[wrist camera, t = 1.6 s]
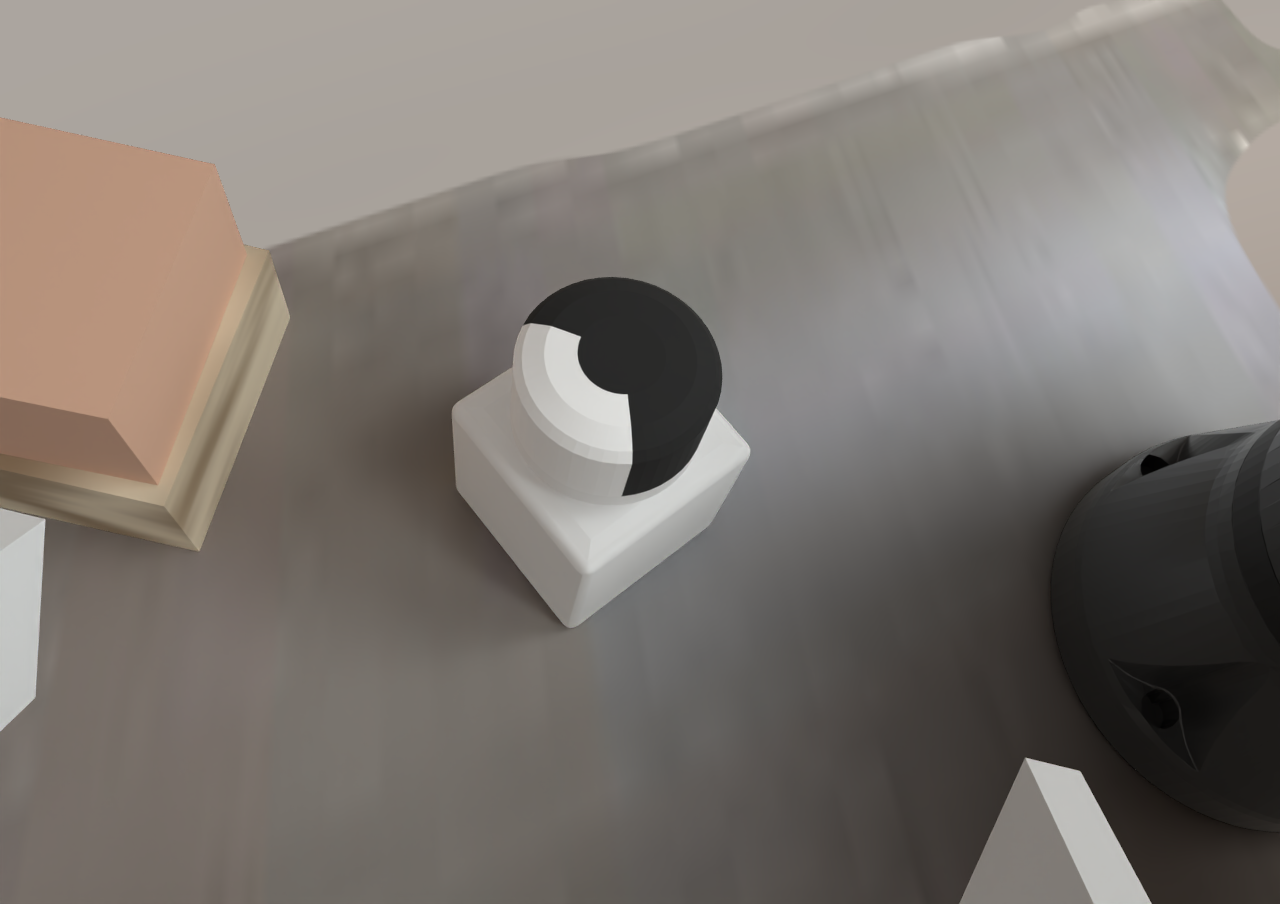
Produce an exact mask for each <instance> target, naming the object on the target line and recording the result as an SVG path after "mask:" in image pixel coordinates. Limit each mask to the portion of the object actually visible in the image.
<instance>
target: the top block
mask: <svg viewBox="0 0 1280 904" xmlns="http://www.w3.org/2000/svg"><path fill="white" fill-rule="evenodd" d="M246 256H247V253H246V250H245V247H244V245H243V242H242V239H241V236H240V234H239V231H238V228H237V225H236V222H235V220H234V217H233V214H232V211H231V208H230V206H229V203H228V200H227V197H226V195H225V192H224V189H223V186H222V183H221V180H220V178H219V175H218V172H217V169H216V166H215V164H211V163H206V162H202V161H197V160H193V159H188V158H183V157H179V156H174V155H170V154H165V153H161V152H156V151H151V150H147V149H142V148H138V147H133V146H128V145H124V144H119V143H114V142H110V141H105V140H101V139H96V138H92V137H87V136H82V135H78V134H73V133H68V132H64V131H60V130H55V129H51V128H46V127H42V126H37V125H32V124H27V123H23V122H19V121H14V120H9V119H5V118H0V454H5V455H10V456H15V457H20V458H25V459H30V460H35V461H40V462H45V463H50V464H55V465H60V466H65V467H70V468H74V469H79V470H84V471H89V472H94V473H99V474H104V475H109V476H114V477H119V478H124V479H129V480H134V481H139V482H144V483H149V484H154V485H158V484H159V482H160V479H161V477H162V474H163V471H164V469H165V466H166V464H167V461H168V458H169V456H170V453H171V451H172V448H173V445H174V443H175V440H176V438H177V435H178V432H179V430H180V427H181V425H182V422H183V419H184V417H185V414H186V412H187V409H188V406H189V404H190V401H191V399H192V396H193V394H194V391H195V388H196V386H197V383H198V381H199V378H200V375H201V373H202V370H203V368H204V365H205V362H206V360H207V357H208V355H209V352H210V349H211V347H212V344H213V342H214V339H215V336H216V334H217V331H218V329H219V326H220V323H221V321H222V318H223V316H224V313H225V310H226V308H227V305H228V303H229V300H230V298H231V295H232V292H233V290H234V287H235V285H236V282H237V279H238V277H239V274H240V272H241V269H242V266H243V264H244V261H245V259H246Z"/></svg>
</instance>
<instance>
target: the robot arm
mask: <svg viewBox="0 0 1280 904" xmlns="http://www.w3.org/2000/svg"><path fill="white" fill-rule="evenodd" d="M44 535H45V519H42V518H38V517H34V516H30V515H26V514H22V513H18V512H14V511H10V510H5V509H1V508H0V731H1V730H2V729H3V728H4V727H5V726H6V725H7V724H8V723H10V722H11V721H12V720H13V719H14V718H15V717H16V716H17V715H18V714H19V713H20V712H21V711H22V710H23V709H24V708H25V707H26V706H27V705H28V704H29V703H30V702H31V701H32V700H33V699H34V698H35V696H36V678H37V660H38V642H39V625H40V607H41V589H42V571H43V553H44ZM1051 604H1052V615H1053V622H1054V629H1055V633H1056V638H1057V642H1058V646H1059V649H1060V653H1061V656H1062V659H1063V662H1064V664H1065V667H1066V670H1067V673H1068V675H1069V677H1070V679H1071V682H1072V684H1073V686H1074V688H1075V690H1076V692H1077V694H1078V696H1079V698H1080V700H1081V702H1082V703H1083V705H1084V707H1085V708H1086V710H1087V712H1088V713H1089V715H1090V717H1091V718H1092V719H1093V721H1094V722H1095V724H1096V725H1097V727H1098V728H1099V730H1100V731H1101V732H1102V733H1103V735H1104V736H1105V737H1106V739H1107V740H1108V741H1109V742H1110V743H1111V745H1112V746H1113V747H1114V748H1115V749H1116V750H1117V751H1118V753H1119V754H1120V755H1121V756H1122V757H1123V758H1124V759H1125V760H1126V761H1127V762H1128V763H1129V764H1130V765H1131V766H1132V767H1133V768H1134V769H1136V770H1137V771H1138V772H1139V773H1140V774H1141V775H1142V776H1143V777H1145V778H1146V779H1147V780H1148V781H1150V782H1151V783H1152V784H1153V785H1155V786H1156V787H1157V788H1159V789H1160V790H1162V791H1163V792H1165V793H1166V794H1167V795H1169V796H1170V797H1172V798H1174V799H1175V800H1177V801H1179V802H1180V803H1182V804H1184V805H1185V806H1187V807H1189V808H1191V809H1193V810H1195V811H1197V812H1199V813H1201V814H1204V815H1206V816H1209V817H1211V818H1213V819H1216V820H1219V821H1222V822H1225V823H1228V824H1231V825H1235V826H1239V827H1242V828H1248V829H1253V830H1259V831H1269V832H1280V420H1277V421H1271V422H1265V423H1259V424H1254V425H1248V426H1242V427H1236V428H1230V429H1225V430H1219V431H1213V432H1207V433H1201V434H1196V435H1190V436H1185V437H1181V438H1177V439H1173V440H1170V441H1167V442H1165V443H1162V444H1159V445H1157V446H1155V447H1152V448H1150V449H1148V450H1146V451H1144V452H1142V453H1140V454H1139V455H1137V456H1135V457H1134V458H1132V459H1131V460H1129V461H1128V462H1126V463H1125V464H1124V465H1122V466H1121V467H1119V468H1118V469H1117V470H1115V471H1114V472H1112V473H1111V474H1109V475H1108V476H1107V477H1105V478H1104V479H1102V480H1101V481H1100V482H1099V483H1098V484H1096V485H1095V486H1094V487H1093V488H1092V489H1091V490H1090V491H1089V492H1088V493H1087V494H1086V495H1085V496H1084V497H1083V499H1082V500H1081V501H1080V502H1079V504H1078V505H1077V506H1076V508H1075V509H1074V511H1073V512H1072V514H1071V516H1070V518H1069V519H1068V521H1067V523H1066V525H1065V527H1064V530H1063V532H1062V534H1061V537H1060V540H1059V543H1058V546H1057V550H1056V554H1055V558H1054V564H1053V570H1052V581H1051ZM959 904H1152V903H1151V902H1150V900H1149V898H1148V896H1147V894H1146V892H1145V890H1144V889H1143V887H1142V885H1141V883H1140V881H1139V879H1138V877H1137V876H1136V874H1135V872H1134V870H1133V868H1132V866H1131V864H1130V863H1129V861H1128V859H1127V857H1126V855H1125V853H1124V851H1123V850H1122V848H1121V846H1120V844H1119V842H1118V840H1117V838H1116V837H1115V835H1114V833H1113V831H1112V829H1111V827H1110V825H1109V824H1108V822H1107V820H1106V818H1105V816H1104V814H1103V812H1102V811H1101V809H1100V807H1099V805H1098V803H1097V801H1096V799H1095V798H1094V796H1093V794H1092V792H1091V790H1090V788H1089V786H1088V785H1087V783H1086V781H1085V779H1084V777H1083V775H1082V773H1081V772H1080V771H1078V770H1074V769H1070V768H1066V767H1062V766H1058V765H1053V764H1049V763H1045V762H1041V761H1037V760H1033V759H1029V758H1025V759H1024V761H1023V763H1022V766H1021V768H1020V770H1019V772H1018V774H1017V777H1016V779H1015V781H1014V783H1013V786H1012V788H1011V790H1010V792H1009V794H1008V797H1007V799H1006V801H1005V803H1004V806H1003V808H1002V810H1001V812H1000V814H999V817H998V819H997V821H996V823H995V825H994V828H993V830H992V832H991V834H990V837H989V839H988V841H987V843H986V845H985V848H984V850H983V852H982V854H981V856H980V859H979V861H978V863H977V865H976V868H975V870H974V872H973V874H972V876H971V879H970V881H969V883H968V885H967V888H966V890H965V892H964V894H963V896H962V899H961V901H960V903H959Z"/></svg>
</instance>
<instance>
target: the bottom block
mask: <svg viewBox="0 0 1280 904" xmlns="http://www.w3.org/2000/svg"><path fill="white" fill-rule="evenodd" d="M243 245H244V244H243ZM244 247H245V250H246V253H247V256H246V259H245V261H244V264H243V266H242V269H241V272H240V274H239V277H238V279H237V282H236V285H235V287H234V290H233V292H232V295H231V298H230V300H229V303H228V305H227V308H226V310H225V313H224V316H223V318H222V321H221V323H220V326H219V329H218V331H217V334H216V336H215V339H214V342H213V344H212V347H211V349H210V352H209V355H208V357H207V360H206V362H205V365H204V368H203V370H202V373H201V375H200V378H199V381H198V383H197V386H196V388H195V391H194V394H193V396H192V399H191V401H190V404H189V406H188V409H187V412H186V414H185V417H184V419H183V422H182V425H181V427H180V430H179V432H178V435H177V438H176V440H175V443H174V445H173V448H172V451H171V453H170V456H169V458H168V461H167V464H166V466H165V469H164V471H163V474H162V477H161V479H160V482H159V484H158V485H154V484H149V483H144V482H139V481H134V480H129V479H124V478H119V477H114V476H109V475H104V474H99V473H94V472H89V471H84V470H79V469H74V468H70V467H65V466H60V465H55V464H50V463H45V462H40V461H35V460H30V459H25V458H20V457H15V456H10V455H5V454H0V507H2V508H7V509H11V510H15V511H20V512H24V513H29V514H33V515H38V516H42V517H47V518H51V519H55V520H60V521H64V522H69V523H73V524H78V525H82V526H87V527H91V528H95V529H100V530H104V531H109V532H113V533H118V534H122V535H127V536H131V537H135V538H140V539H144V540H149V541H153V542H158V543H162V544H167V545H171V546H175V547H180V548H184V549H189V550H193V551H198V552H200V549H201V547H202V544H203V541H204V539H205V536H206V534H207V531H208V529H209V526H210V523H211V521H212V518H213V516H214V513H215V511H216V508H217V505H218V503H219V500H220V498H221V495H222V492H223V490H224V487H225V485H226V482H227V480H228V477H229V474H230V472H231V469H232V467H233V464H234V462H235V459H236V456H237V454H238V451H239V449H240V446H241V443H242V441H243V438H244V436H245V433H246V431H247V428H248V425H249V423H250V420H251V418H252V415H253V413H254V410H255V407H256V405H257V402H258V400H259V397H260V394H261V392H262V389H263V387H264V384H265V382H266V379H267V376H268V374H269V371H270V369H271V366H272V364H273V361H274V358H275V356H276V353H277V351H278V348H279V345H280V343H281V340H282V338H283V335H284V333H285V330H286V327H287V325H288V322H289V320H290V314H289V311H288V308H287V305H286V302H285V299H284V296H283V292H282V289H281V286H280V283H279V280H278V277H277V274H276V271H275V268H274V264H273V261H272V258H271V255H270V252H269V250H265V249H260V248H256V247H251V246H248V245H244Z"/></svg>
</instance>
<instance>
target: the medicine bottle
mask: <svg viewBox="0 0 1280 904" xmlns="http://www.w3.org/2000/svg"><path fill="white" fill-rule="evenodd" d="M721 386H722V366H721V360H720V356H719V352H718V349H717V346H716V344H715V341H714V339H713V337H712V335H711V333H710V332H709V330H708V328H707V327H706V325H705V324H704V323H703V321H702V320H701V319H700V317H699V316H698V315H697V314H696V313H695V312H694V311H693V310H692V309H691V308H690V307H689V306H688V305H686V304H685V303H684V302H683V301H681V300H680V299H679V298H677V297H676V296H674V295H672V294H671V293H669V292H668V291H665V290H663V289H661V288H659V287H657V286H655V285H652V284H649V283H646V282H643V281H638V280H633V279H628V278H618V277H605V278H595V279H588V280H584V281H580V282H577V283H574V284H571V285H569V286H567V287H564V288H562V289H560V290H558V291H557V292H555V293H553V294H552V295H550V296H549V297H547V298H546V299H545V300H544V301H543V302H541V303H540V304H539V305H538V306H537V307H536V308H535V309H534V311H533V312H532V313H531V314H530V315H529V317H528V318H527V320H526V321H525V323H524V324H523V326H522V328H521V331H520V333H519V335H518V337H517V341H516V345H515V348H514V356H513V367H512V368H510V369H508V370H507V371H505V372H504V373H502V374H501V375H499V376H497V377H496V378H494V379H493V380H491V381H490V382H488V383H486V384H485V385H483V386H482V387H480V388H479V389H477V390H476V391H474V392H472V393H471V394H469V395H468V396H466V397H465V398H463V399H461V400H460V401H458V402H457V403H456V404H455V405H454V406H453V409H452V427H453V443H454V460H455V476H456V488H457V490H458V492H459V493H460V494H461V496H462V497H463V498H464V499H465V501H466V502H467V503H468V504H469V506H470V507H471V508H472V509H473V511H474V512H475V513H476V515H477V516H478V517H479V518H480V520H481V521H482V522H483V523H484V525H485V526H486V527H487V528H488V530H489V531H490V532H491V534H492V535H493V536H494V537H495V539H496V540H497V541H498V542H499V544H500V545H501V546H502V547H503V549H504V550H505V551H506V553H507V554H508V555H509V556H510V558H511V559H512V560H513V561H514V563H515V564H516V565H517V566H518V568H519V569H520V570H521V572H522V573H523V574H524V575H525V577H526V578H527V579H528V580H529V582H530V583H531V584H532V585H533V587H534V588H535V589H536V591H537V592H538V593H539V594H540V596H541V597H542V598H543V599H544V601H545V602H546V603H547V604H548V606H549V607H550V608H551V610H552V611H553V612H554V613H555V615H556V616H557V617H558V618H559V620H560V621H561V622H562V623H563V624H564V625H565V626H566V627H568V628H574V627H576V626H578V625H580V624H581V623H582V622H584V621H585V620H586V619H587V618H589V617H590V616H591V615H593V614H594V613H595V612H597V611H598V610H599V609H601V608H602V607H603V606H605V605H606V604H607V603H608V602H610V601H611V600H612V599H614V598H615V597H616V596H618V595H619V594H620V593H622V592H623V591H624V590H626V589H627V588H628V587H629V586H631V585H632V584H633V583H635V582H636V581H637V580H639V579H640V578H641V577H643V576H644V575H645V574H646V573H648V572H649V571H650V570H652V569H653V568H654V567H656V566H657V565H658V564H660V563H661V562H662V561H664V560H665V559H666V558H667V557H669V556H670V555H671V554H673V553H674V552H675V551H677V550H678V549H679V548H681V547H682V546H683V545H684V544H686V543H687V542H688V541H690V540H691V539H692V538H694V537H695V536H696V535H698V534H699V533H700V532H702V531H703V530H704V529H705V528H707V527H708V526H709V525H710V524H711V523H712V521H713V519H714V518H715V516H716V514H717V512H718V511H719V509H720V507H721V505H722V504H723V502H724V500H725V498H726V497H727V495H728V493H729V491H730V490H731V488H732V486H733V485H734V483H735V481H736V479H737V478H738V476H739V474H740V472H741V471H742V469H743V467H744V465H745V464H746V462H747V460H748V458H749V457H750V447H749V445H748V444H747V442H746V441H745V440H744V439H743V438H742V437H741V436H740V435H739V433H738V432H737V431H736V430H735V429H734V428H733V427H732V426H731V424H730V423H729V422H728V421H727V420H726V419H725V418H724V416H723V415H722V414H721V413H720V412H719V411H718V410H717V409H716V406H717V404H718V401H719V397H720V393H721Z"/></svg>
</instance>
